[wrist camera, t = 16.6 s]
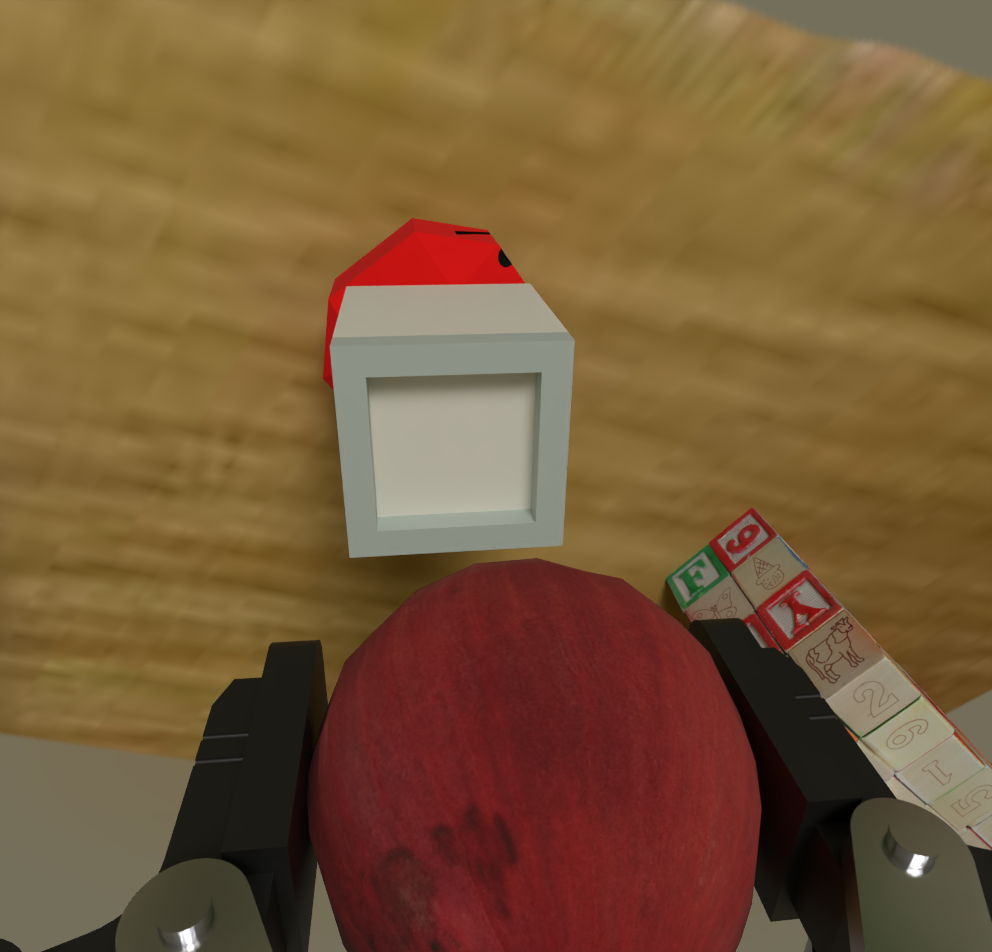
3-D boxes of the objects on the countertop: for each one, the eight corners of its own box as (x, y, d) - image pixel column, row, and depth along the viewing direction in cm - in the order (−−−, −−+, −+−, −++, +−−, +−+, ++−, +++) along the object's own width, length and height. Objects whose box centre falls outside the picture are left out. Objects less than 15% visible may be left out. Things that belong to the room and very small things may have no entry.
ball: (557, 333, 33) (600, 391, 26) (417, 434, 34) (423, 514, 28) (451, 179, 30) (469, 200, 23) (301, 298, 31) (275, 351, 24)
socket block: (530, 283, 24) (574, 340, 18) (524, 448, 27) (562, 545, 21) (346, 286, 24) (329, 346, 18) (359, 455, 26) (349, 557, 20)
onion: (364, 753, 14) (337, 1386, 7) (297, 497, 12) (151, 1095, 5) (653, 703, 15) (898, 1258, 8) (651, 445, 12) (1023, 920, 5)
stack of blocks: (932, 698, 47) (1094, 875, 36) (852, 753, 49) (984, 939, 38) (750, 503, 39) (891, 658, 28) (660, 577, 40) (759, 752, 29)
